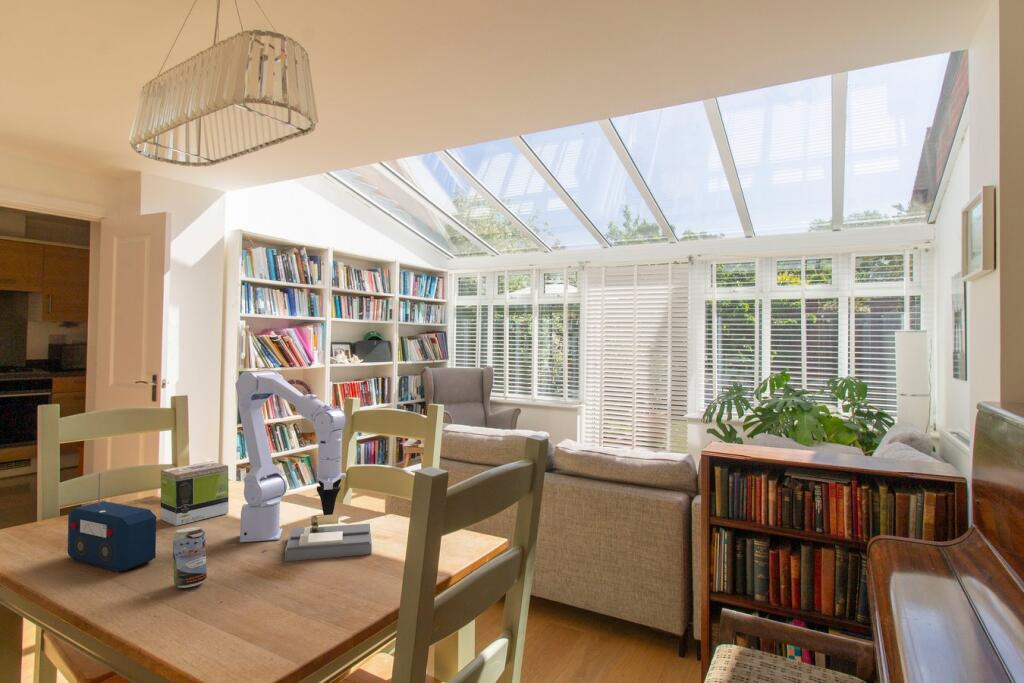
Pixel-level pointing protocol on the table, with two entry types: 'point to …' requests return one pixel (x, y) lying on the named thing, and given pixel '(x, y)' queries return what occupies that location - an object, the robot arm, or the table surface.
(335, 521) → the key
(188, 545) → the beverage can
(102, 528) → the radio
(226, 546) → the table surface
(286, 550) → the case
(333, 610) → the table surface
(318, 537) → the cover
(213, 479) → the tea box
